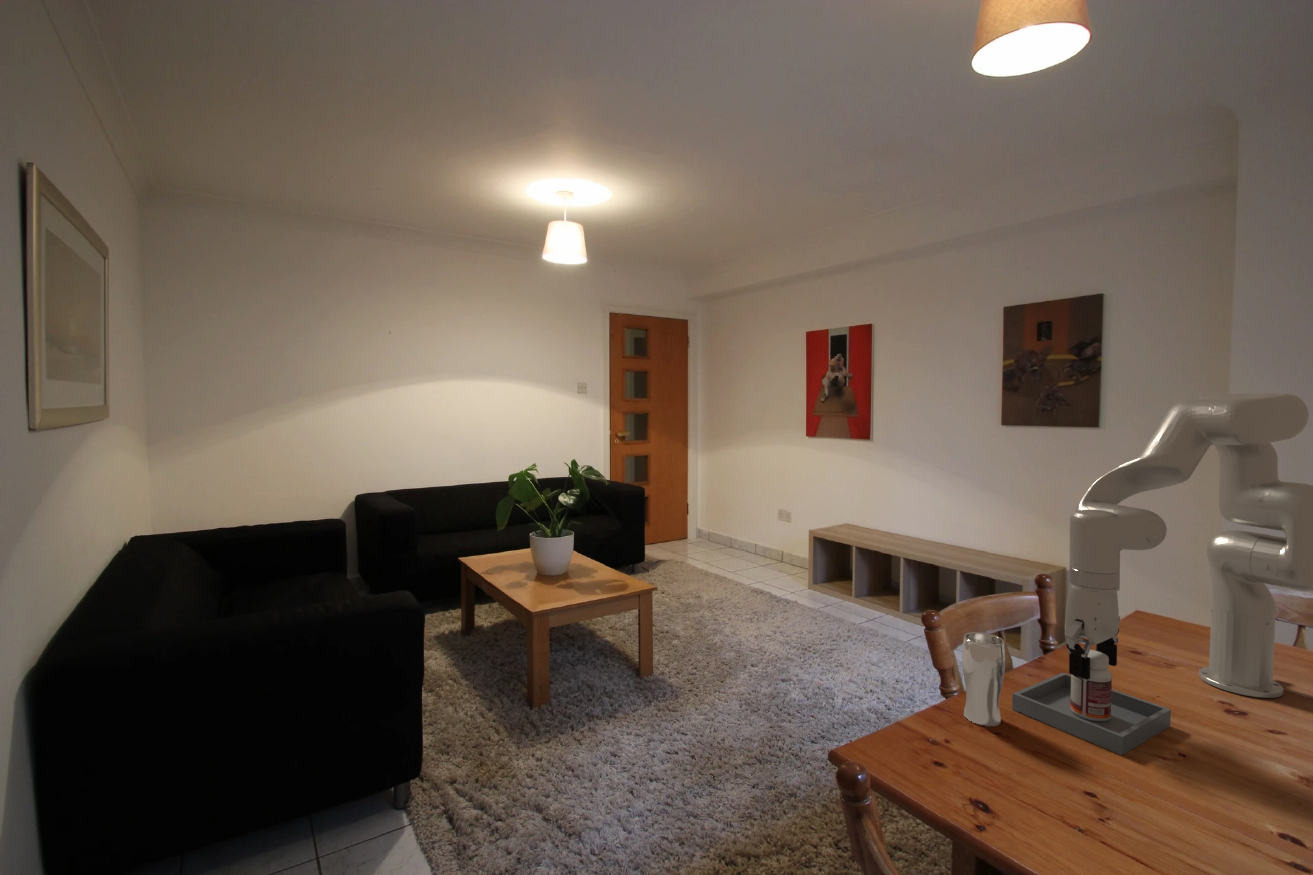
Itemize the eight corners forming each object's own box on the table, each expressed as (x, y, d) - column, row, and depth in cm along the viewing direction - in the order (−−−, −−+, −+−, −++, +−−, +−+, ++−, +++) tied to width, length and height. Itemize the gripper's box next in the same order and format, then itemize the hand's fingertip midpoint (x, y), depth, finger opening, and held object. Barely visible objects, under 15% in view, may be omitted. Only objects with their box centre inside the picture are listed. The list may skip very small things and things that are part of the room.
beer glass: (1001, 713, 116) (1003, 634, 115) (1005, 731, 110) (1007, 648, 109) (960, 706, 119) (962, 629, 118) (961, 722, 112) (963, 642, 112)
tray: (1062, 687, 126) (1063, 672, 126) (1170, 726, 111) (1170, 709, 111) (1012, 709, 117) (1012, 693, 117) (1121, 755, 102) (1122, 736, 102)
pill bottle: (1116, 716, 113) (1118, 655, 113) (1101, 726, 110) (1103, 663, 109) (1079, 703, 118) (1080, 645, 118) (1063, 712, 115) (1065, 652, 114)
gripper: (1095, 566, 120) (1094, 652, 121) (1046, 581, 112) (1046, 674, 113) (1140, 574, 114) (1139, 665, 115) (1092, 592, 105) (1092, 690, 106)
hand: (1093, 669), depth 114 cm, fingers open, 9 cm apart
